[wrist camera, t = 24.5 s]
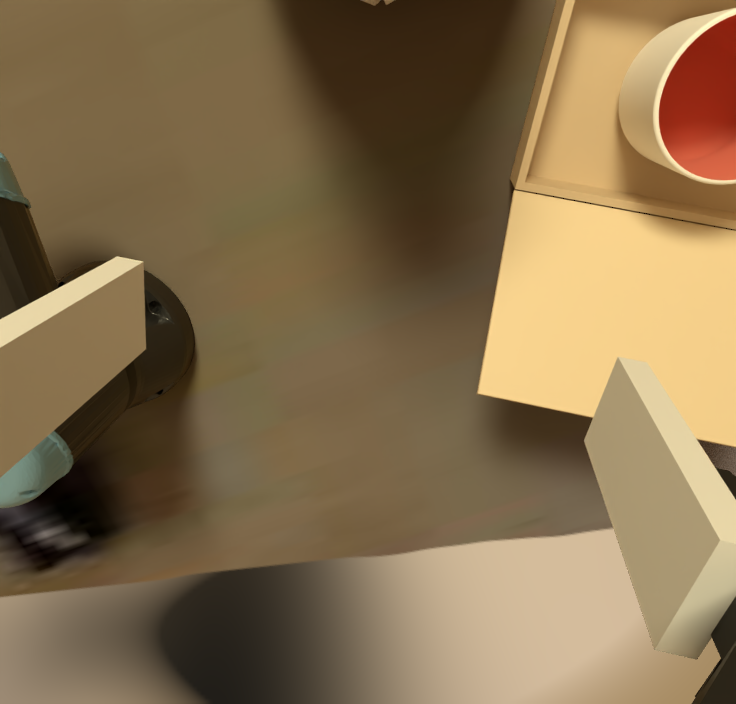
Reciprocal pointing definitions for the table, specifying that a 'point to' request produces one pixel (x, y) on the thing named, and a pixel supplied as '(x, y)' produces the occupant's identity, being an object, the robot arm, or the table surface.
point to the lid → (613, 310)
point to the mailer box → (606, 115)
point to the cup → (686, 99)
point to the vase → (377, 1)
